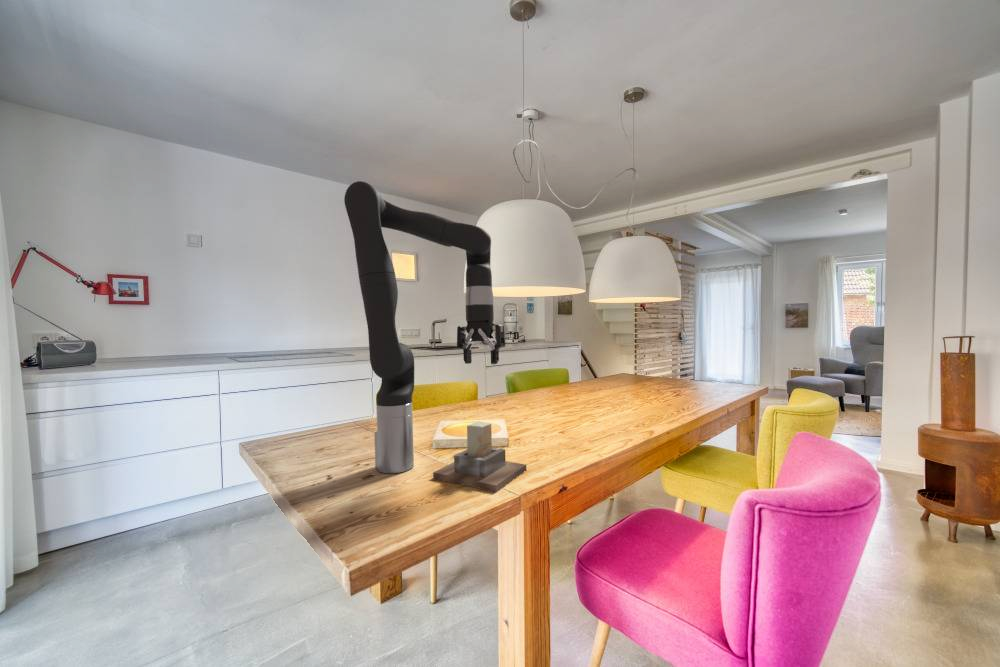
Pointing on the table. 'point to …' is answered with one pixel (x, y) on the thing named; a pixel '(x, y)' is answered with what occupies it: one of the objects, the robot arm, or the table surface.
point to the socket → (481, 470)
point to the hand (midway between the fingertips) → (480, 363)
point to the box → (479, 439)
